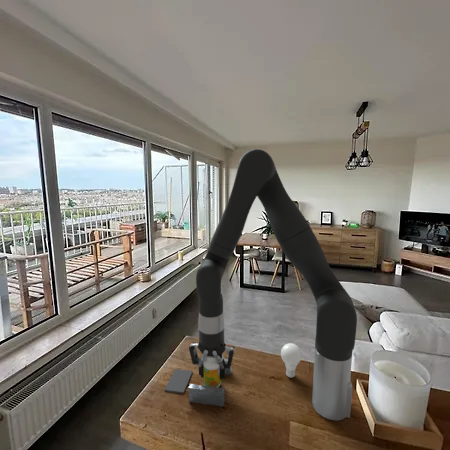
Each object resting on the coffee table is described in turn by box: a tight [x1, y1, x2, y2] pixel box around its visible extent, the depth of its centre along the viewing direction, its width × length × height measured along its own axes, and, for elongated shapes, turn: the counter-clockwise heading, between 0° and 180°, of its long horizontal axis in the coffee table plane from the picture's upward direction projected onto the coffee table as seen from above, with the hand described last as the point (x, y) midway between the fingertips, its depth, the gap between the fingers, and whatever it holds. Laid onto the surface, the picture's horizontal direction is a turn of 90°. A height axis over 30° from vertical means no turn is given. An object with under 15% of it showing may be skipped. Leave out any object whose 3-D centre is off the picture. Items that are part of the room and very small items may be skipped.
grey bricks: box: [188, 357, 232, 407], centre depth 82 cm, size 10×14×4 cm
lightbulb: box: [280, 342, 303, 378], centre depth 85 cm, size 6×6×11 cm
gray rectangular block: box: [164, 368, 193, 395], centre depth 84 cm, size 6×9×1 cm, turn 170°
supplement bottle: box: [203, 356, 222, 388], centre depth 81 cm, size 5×5×10 cm
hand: (212, 376), depth 82 cm, fingers closed on supplement bottle, 5 cm apart
